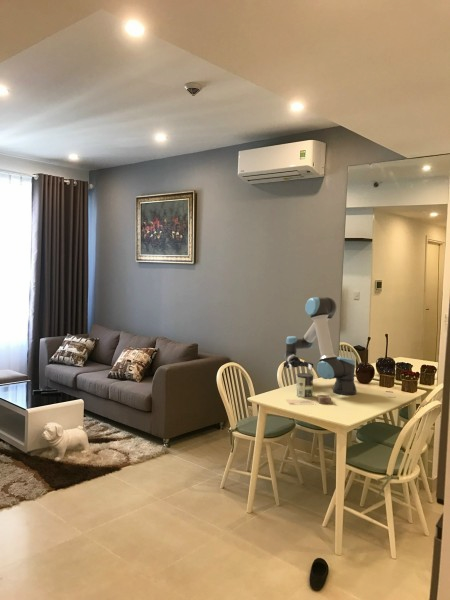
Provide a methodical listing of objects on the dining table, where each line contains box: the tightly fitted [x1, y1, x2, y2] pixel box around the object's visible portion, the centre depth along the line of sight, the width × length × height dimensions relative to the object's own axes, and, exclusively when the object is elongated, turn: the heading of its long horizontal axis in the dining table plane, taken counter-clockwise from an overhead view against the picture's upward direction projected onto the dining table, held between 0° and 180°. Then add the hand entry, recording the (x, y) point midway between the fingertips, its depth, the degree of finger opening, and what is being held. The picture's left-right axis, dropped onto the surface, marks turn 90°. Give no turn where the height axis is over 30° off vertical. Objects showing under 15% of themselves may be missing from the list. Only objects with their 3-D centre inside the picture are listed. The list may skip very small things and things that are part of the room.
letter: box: [285, 399, 317, 406], centre depth 293 cm, size 16×12×1 cm
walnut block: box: [316, 394, 332, 405], centre depth 294 cm, size 7×7×4 cm
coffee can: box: [295, 372, 314, 399], centre depth 307 cm, size 10×10×14 cm
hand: (301, 367), depth 316 cm, fingers open, 13 cm apart
